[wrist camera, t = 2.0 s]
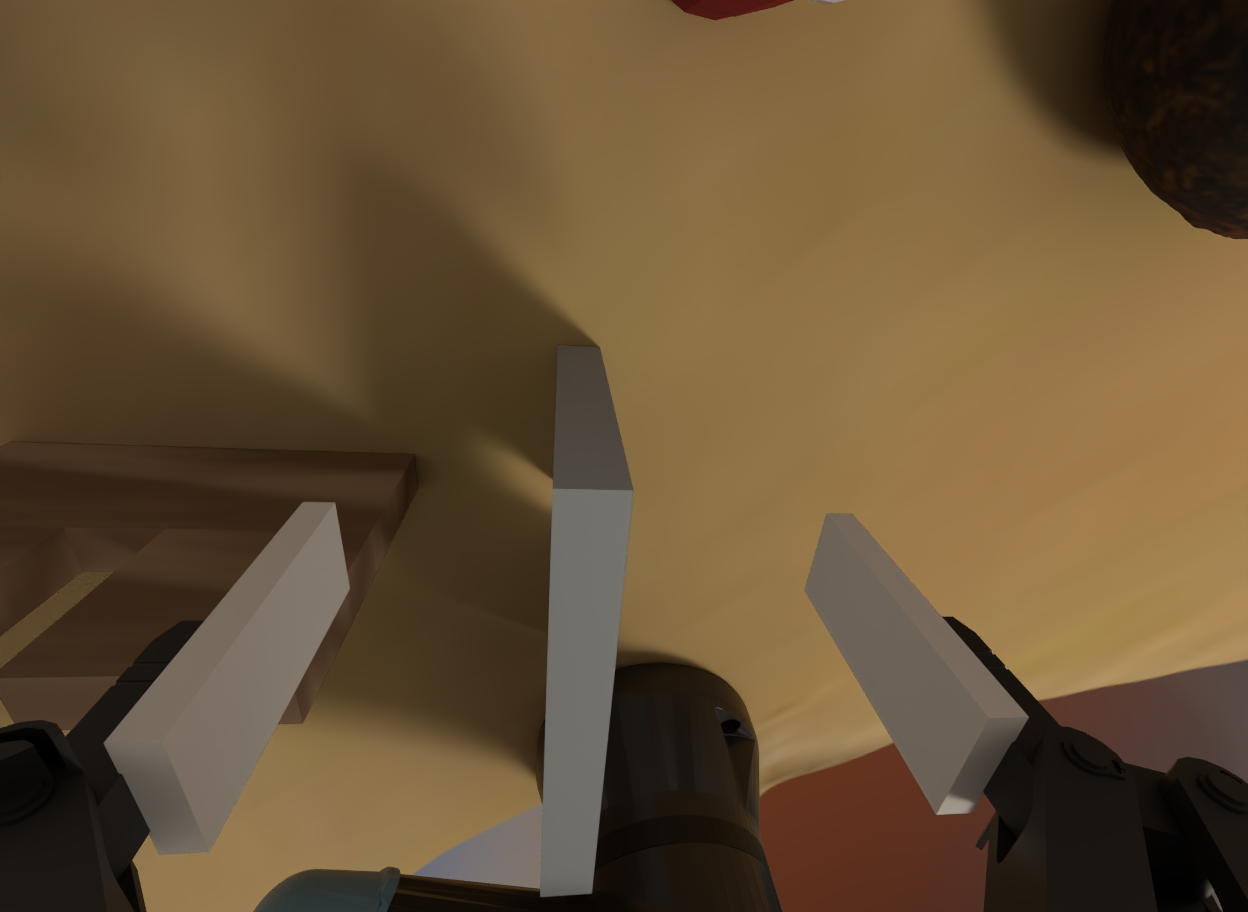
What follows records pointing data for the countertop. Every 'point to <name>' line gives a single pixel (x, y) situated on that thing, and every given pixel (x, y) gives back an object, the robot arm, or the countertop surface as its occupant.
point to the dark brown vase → (1184, 104)
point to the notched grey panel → (581, 615)
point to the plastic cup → (730, 6)
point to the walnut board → (166, 551)
